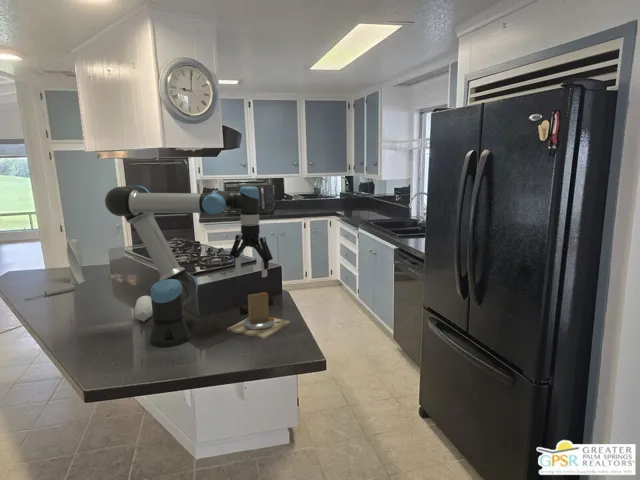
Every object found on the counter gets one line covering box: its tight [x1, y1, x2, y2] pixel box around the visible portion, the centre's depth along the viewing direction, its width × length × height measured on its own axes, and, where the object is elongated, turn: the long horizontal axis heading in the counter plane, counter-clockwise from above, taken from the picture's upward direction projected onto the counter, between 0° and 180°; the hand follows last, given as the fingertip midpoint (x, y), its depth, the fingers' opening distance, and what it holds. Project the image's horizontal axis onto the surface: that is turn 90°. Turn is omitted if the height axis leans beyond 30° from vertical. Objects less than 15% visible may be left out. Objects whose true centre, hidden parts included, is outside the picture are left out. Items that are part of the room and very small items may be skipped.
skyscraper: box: [66, 236, 86, 285], centre depth 256 cm, size 8×8×28 cm
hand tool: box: [239, 296, 275, 315], centre depth 206 cm, size 19×4×5 cm, turn 132°
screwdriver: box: [24, 283, 76, 301], centre depth 233 cm, size 5×25×4 cm, turn 140°
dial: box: [244, 291, 275, 330], centre depth 183 cm, size 13×13×14 cm
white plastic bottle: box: [133, 295, 153, 323], centre depth 196 cm, size 8×19×8 cm, turn 18°
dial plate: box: [226, 317, 291, 340], centre depth 184 cm, size 19×19×1 cm
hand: (251, 274), depth 179 cm, fingers open, 13 cm apart
